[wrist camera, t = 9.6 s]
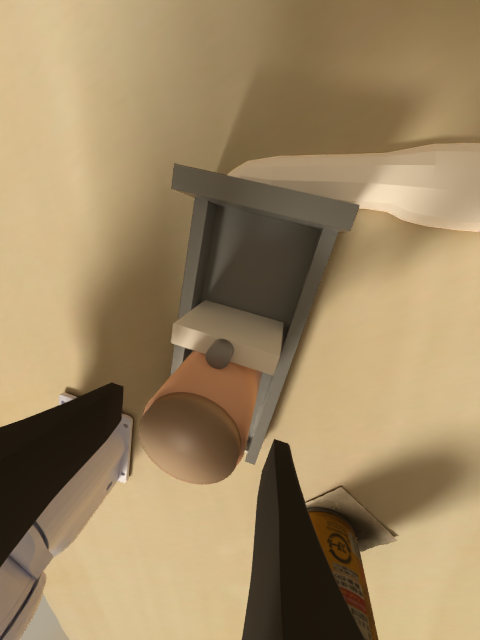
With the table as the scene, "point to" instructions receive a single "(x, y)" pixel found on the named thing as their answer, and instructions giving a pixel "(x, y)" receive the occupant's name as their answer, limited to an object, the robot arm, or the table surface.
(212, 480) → the jar
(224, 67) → the table surface
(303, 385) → the table surface
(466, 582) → the table surface
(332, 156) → the spatula
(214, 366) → the pusher
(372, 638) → the condiment
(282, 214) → the grey tray
